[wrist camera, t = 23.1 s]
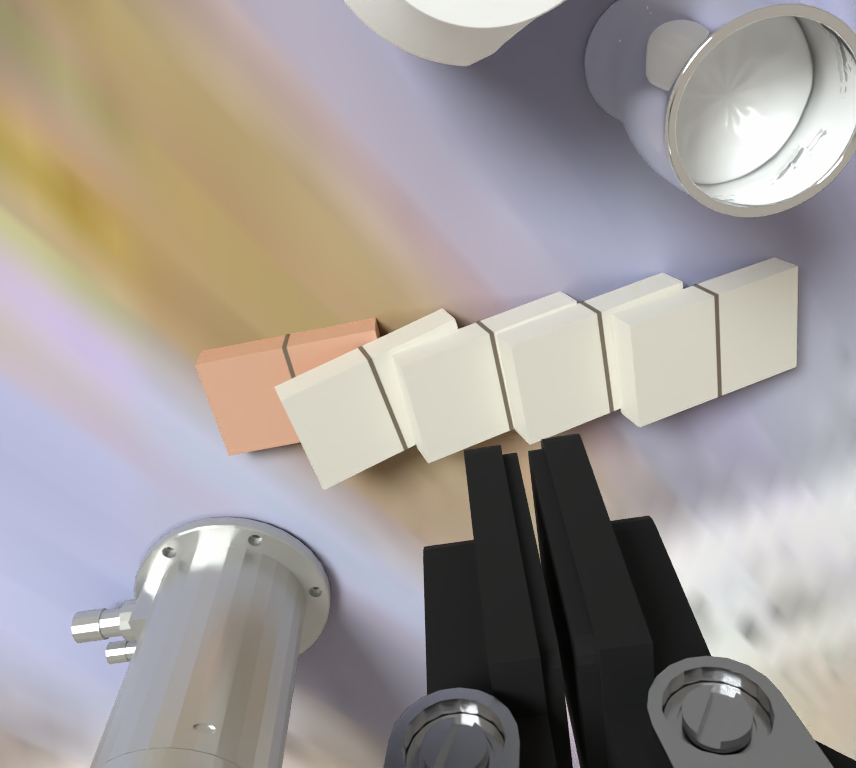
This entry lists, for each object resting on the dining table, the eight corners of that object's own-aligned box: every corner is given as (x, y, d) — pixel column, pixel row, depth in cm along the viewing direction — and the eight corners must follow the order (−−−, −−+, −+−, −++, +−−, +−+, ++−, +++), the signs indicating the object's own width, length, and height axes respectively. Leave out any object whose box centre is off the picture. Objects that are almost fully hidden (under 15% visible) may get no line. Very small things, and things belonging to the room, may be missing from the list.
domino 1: (398, 408, 48) (234, 439, 49) (375, 315, 46) (202, 349, 46) (398, 424, 47) (229, 455, 47) (374, 329, 44) (194, 364, 45)
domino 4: (670, 368, 47) (515, 430, 45) (662, 271, 44) (495, 333, 42) (690, 380, 46) (530, 445, 44) (682, 281, 43) (511, 345, 41)
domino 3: (575, 385, 48) (417, 448, 46) (560, 290, 45) (390, 353, 43) (591, 397, 46) (428, 463, 44) (576, 300, 43) (401, 366, 41)
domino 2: (472, 397, 48) (316, 474, 46) (442, 307, 45) (273, 386, 43) (485, 410, 46) (323, 490, 45) (454, 318, 43) (280, 400, 42)
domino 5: (773, 355, 47) (621, 413, 45) (773, 256, 44) (610, 313, 42) (796, 367, 45) (639, 427, 43) (798, 265, 43) (630, 325, 41)
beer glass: (747, 7, 38) (926, 43, 25) (678, 150, 41) (805, 250, 28) (612, -48, 37) (726, -41, 24) (551, 104, 40) (622, 185, 27)
